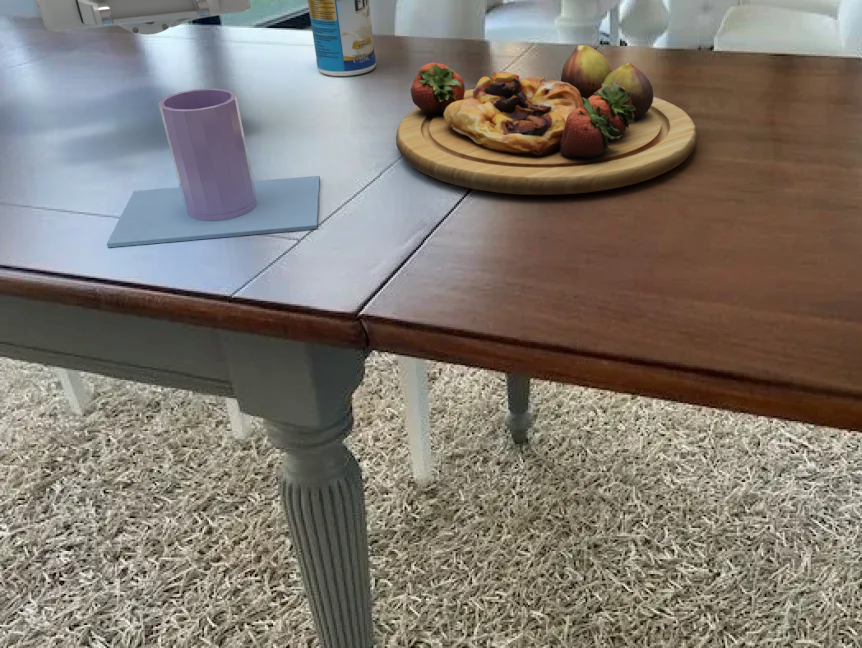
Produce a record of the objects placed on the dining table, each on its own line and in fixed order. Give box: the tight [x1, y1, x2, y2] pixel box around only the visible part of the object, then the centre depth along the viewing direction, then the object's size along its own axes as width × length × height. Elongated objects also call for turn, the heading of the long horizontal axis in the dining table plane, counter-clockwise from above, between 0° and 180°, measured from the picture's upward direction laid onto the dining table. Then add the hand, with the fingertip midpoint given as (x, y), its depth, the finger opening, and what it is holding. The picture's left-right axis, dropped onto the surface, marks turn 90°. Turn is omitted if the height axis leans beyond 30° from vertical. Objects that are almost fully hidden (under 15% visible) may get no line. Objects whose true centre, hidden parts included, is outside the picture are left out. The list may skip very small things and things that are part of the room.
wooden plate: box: [395, 44, 698, 196], centre depth 90 cm, size 32×32×8 cm
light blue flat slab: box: [106, 175, 321, 248], centre depth 80 cm, size 18×12×1 cm, turn 99°
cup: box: [158, 87, 257, 221], centre depth 77 cm, size 6×6×10 cm
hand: (155, 12), depth 82 cm, fingers open, 8 cm apart
